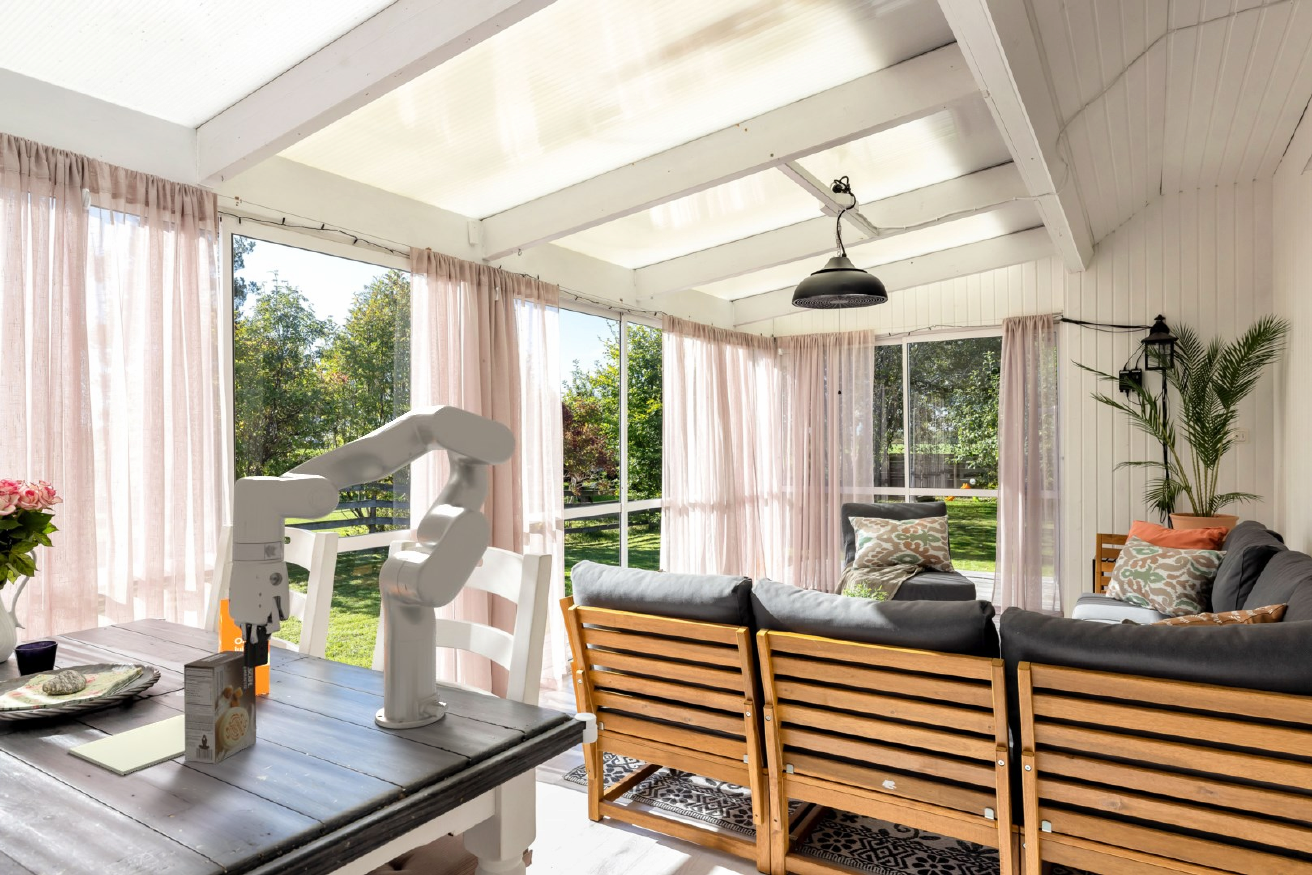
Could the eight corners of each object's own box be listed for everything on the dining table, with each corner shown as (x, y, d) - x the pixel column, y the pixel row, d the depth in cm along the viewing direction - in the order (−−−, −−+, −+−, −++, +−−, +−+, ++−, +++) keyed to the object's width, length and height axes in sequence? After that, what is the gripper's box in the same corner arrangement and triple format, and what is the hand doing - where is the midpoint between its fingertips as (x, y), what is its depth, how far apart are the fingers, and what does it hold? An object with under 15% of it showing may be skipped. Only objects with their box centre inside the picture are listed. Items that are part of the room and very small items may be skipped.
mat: (256, 729, 137) (256, 725, 137) (122, 775, 118) (122, 771, 118) (201, 711, 146) (201, 708, 146) (68, 752, 127) (68, 748, 127)
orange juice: (269, 693, 157) (269, 598, 157) (221, 701, 152) (221, 603, 152) (264, 683, 163) (264, 591, 164) (218, 691, 158) (218, 596, 159)
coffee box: (226, 739, 132) (226, 648, 132) (257, 743, 131) (257, 651, 131) (182, 761, 123) (182, 663, 124) (215, 765, 122) (215, 666, 122)
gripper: (308, 553, 122) (305, 667, 121) (253, 546, 129) (250, 653, 129) (264, 558, 115) (261, 678, 115) (209, 551, 123) (206, 664, 122)
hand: (255, 665), depth 122 cm, fingers closed
